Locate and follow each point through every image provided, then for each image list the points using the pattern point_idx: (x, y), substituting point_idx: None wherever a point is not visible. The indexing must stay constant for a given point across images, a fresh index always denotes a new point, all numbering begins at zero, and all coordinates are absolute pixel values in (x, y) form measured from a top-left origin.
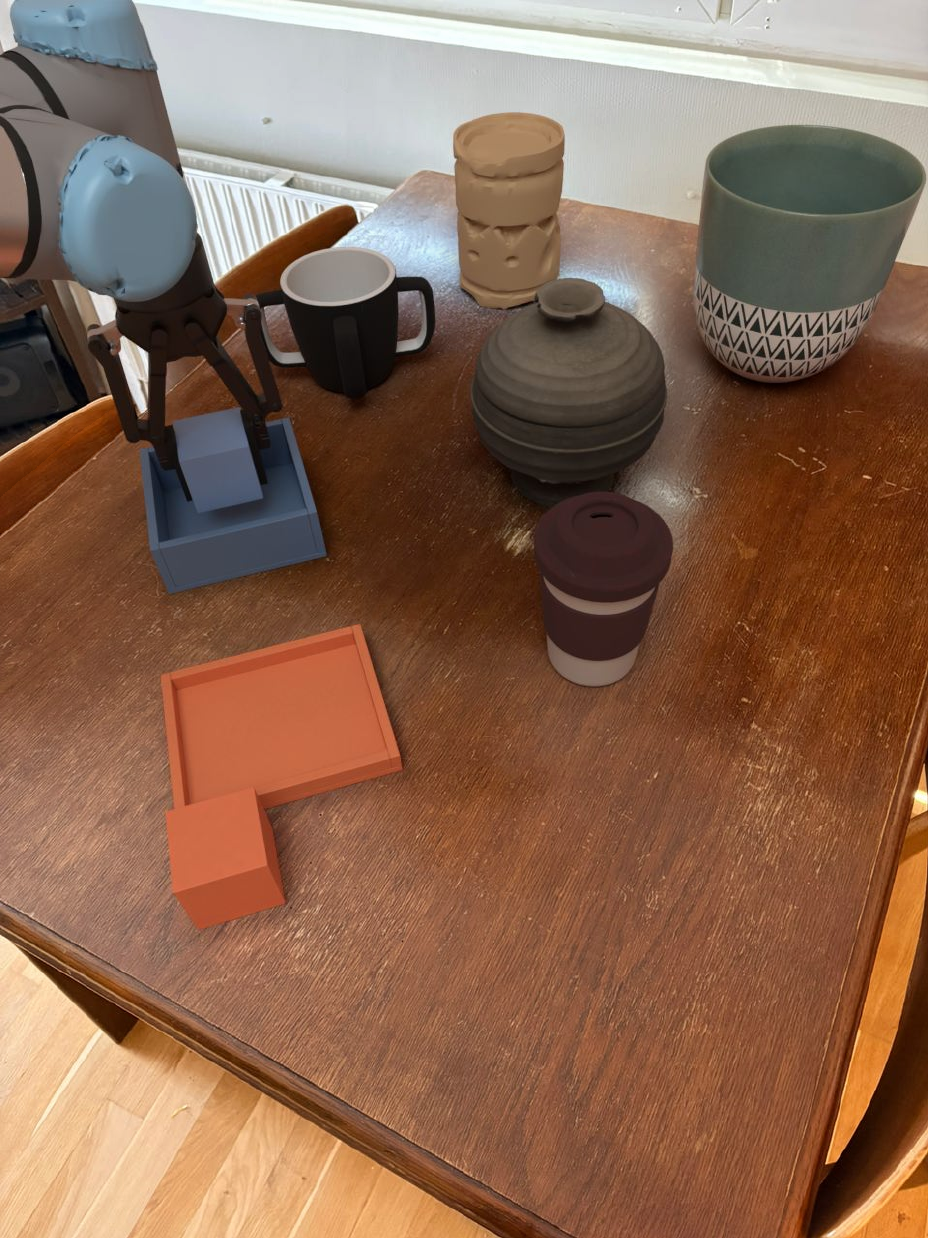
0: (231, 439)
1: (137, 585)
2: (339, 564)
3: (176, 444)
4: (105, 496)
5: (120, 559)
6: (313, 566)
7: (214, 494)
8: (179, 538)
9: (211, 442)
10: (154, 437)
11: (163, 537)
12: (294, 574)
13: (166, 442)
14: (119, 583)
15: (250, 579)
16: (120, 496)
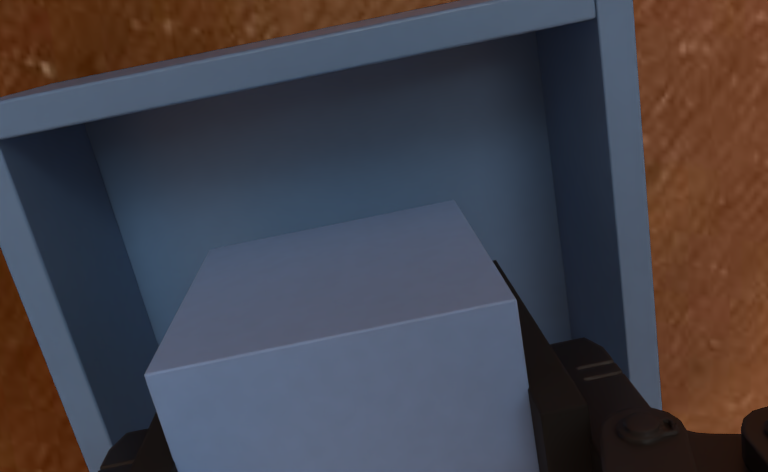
0: (247, 435)
1: (649, 40)
2: (3, 40)
3: (534, 424)
4: (739, 417)
5: (699, 161)
6: (91, 43)
7: (379, 237)
8: (514, 29)
9: (353, 425)
10: (659, 432)
11: (577, 139)
12: (151, 15)
13: (586, 421)
14: (702, 57)
15: (296, 13)
16: (698, 413)
